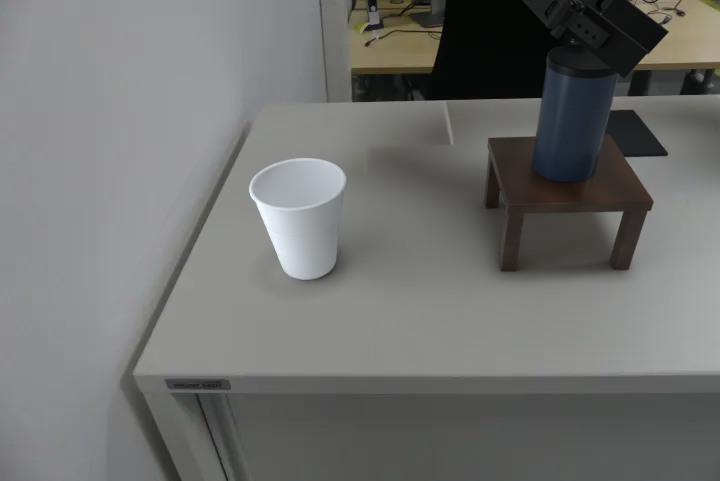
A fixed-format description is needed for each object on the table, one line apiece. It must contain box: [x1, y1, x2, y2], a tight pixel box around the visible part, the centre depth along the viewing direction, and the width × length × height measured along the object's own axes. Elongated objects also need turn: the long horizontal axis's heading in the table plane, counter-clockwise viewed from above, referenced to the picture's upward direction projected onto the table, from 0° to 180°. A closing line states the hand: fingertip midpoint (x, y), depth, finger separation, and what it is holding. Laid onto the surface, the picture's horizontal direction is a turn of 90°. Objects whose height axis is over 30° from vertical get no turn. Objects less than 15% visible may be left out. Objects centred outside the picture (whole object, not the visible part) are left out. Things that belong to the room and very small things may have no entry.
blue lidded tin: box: [532, 43, 620, 182], centre depth 57 cm, size 7×7×12 cm
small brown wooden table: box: [483, 134, 655, 272], centre depth 63 cm, size 14×14×9 cm
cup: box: [248, 157, 348, 281], centre depth 60 cm, size 10×10×11 cm
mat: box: [605, 109, 669, 158], centre depth 84 cm, size 14×14×1 cm
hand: (649, 53), depth 54 cm, fingers open, 13 cm apart
